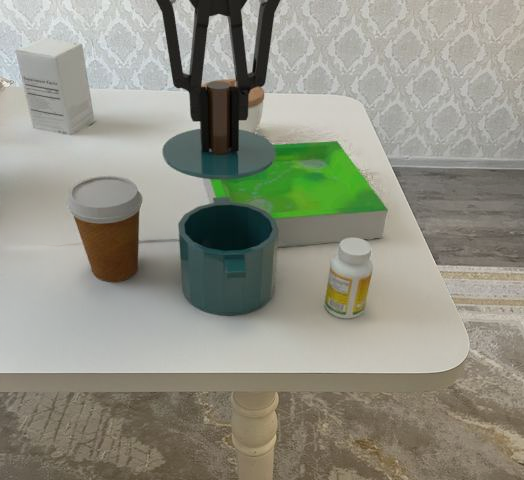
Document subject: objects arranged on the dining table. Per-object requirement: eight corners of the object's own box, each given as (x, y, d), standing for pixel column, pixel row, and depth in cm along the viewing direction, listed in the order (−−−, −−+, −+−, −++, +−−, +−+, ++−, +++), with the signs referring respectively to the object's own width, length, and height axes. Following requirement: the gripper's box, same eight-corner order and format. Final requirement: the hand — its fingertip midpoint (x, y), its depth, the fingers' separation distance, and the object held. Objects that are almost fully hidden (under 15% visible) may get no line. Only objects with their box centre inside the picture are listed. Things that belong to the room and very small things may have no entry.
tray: (381, 238, 92) (387, 209, 89) (224, 251, 88) (224, 222, 84) (333, 167, 110) (337, 141, 107) (200, 175, 106) (199, 148, 102)
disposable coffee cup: (120, 297, 79) (108, 217, 71) (65, 275, 82) (48, 196, 74) (163, 263, 85) (156, 186, 77) (110, 243, 88) (99, 167, 80)
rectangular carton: (58, 114, 123) (43, 36, 113) (95, 122, 121) (84, 42, 111) (31, 130, 117) (13, 48, 107) (71, 138, 115) (56, 56, 105)
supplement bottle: (327, 320, 77) (337, 258, 70) (321, 295, 81) (329, 234, 74) (368, 319, 77) (381, 257, 71) (360, 294, 81) (371, 234, 75)
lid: (165, 186, 66) (159, 108, 60) (161, 137, 76) (155, 65, 70) (284, 182, 68) (289, 106, 62) (265, 134, 78) (268, 64, 72)
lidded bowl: (189, 143, 115) (187, 85, 108) (213, 120, 124) (212, 65, 117) (250, 155, 113) (252, 95, 105) (270, 130, 122) (273, 74, 114)
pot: (185, 332, 74) (182, 269, 68) (179, 252, 87) (175, 194, 81) (284, 325, 76) (290, 264, 69) (263, 248, 89) (266, 191, 82)
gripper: (129, -96, 51) (153, 162, 67) (308, -91, 53) (290, 158, 69) (130, -106, 56) (151, 135, 72) (292, -101, 59) (278, 132, 75)
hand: (219, 146), depth 71 cm, fingers closed on lid, 3 cm apart
